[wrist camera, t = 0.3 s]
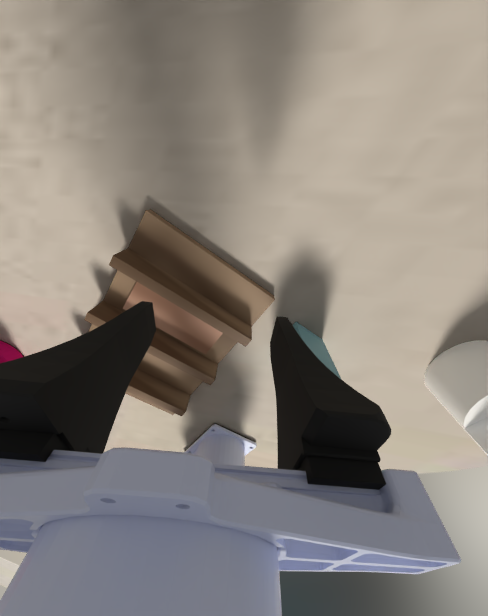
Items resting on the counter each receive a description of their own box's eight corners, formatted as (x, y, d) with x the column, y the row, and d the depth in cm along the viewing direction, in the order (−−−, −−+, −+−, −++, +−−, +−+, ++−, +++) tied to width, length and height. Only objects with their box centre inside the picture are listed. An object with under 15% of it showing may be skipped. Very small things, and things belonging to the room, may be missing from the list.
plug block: (298, 360, 28) (315, 420, 20) (273, 344, 27) (281, 401, 19) (322, 339, 26) (349, 395, 19) (296, 321, 25) (314, 374, 18)
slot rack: (175, 408, 32) (167, 432, 29) (76, 362, 28) (55, 384, 25) (273, 295, 23) (277, 311, 20) (150, 209, 20) (132, 213, 17)
